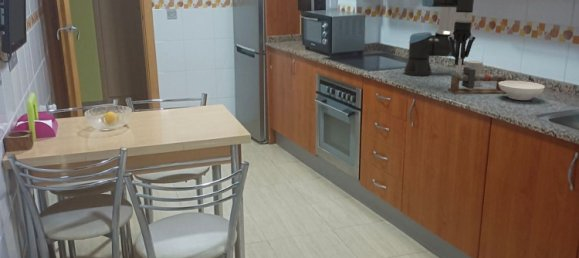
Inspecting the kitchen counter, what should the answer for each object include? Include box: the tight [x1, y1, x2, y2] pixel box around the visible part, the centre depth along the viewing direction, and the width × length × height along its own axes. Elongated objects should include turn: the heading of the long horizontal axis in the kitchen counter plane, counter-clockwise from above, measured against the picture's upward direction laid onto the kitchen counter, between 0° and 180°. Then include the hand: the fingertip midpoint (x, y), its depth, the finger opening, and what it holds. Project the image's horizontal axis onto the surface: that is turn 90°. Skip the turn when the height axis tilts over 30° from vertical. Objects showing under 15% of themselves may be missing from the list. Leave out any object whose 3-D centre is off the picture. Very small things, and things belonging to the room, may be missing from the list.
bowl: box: [498, 80, 546, 101], centre depth 246 cm, size 20×20×7 cm
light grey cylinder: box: [464, 60, 483, 88], centre depth 277 cm, size 8×8×12 cm
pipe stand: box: [447, 73, 507, 95], centre depth 260 cm, size 26×8×9 cm, turn 95°
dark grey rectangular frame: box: [461, 66, 476, 89], centre depth 259 cm, size 2×8×9 cm, turn 5°
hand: (458, 71), depth 257 cm, fingers closed
